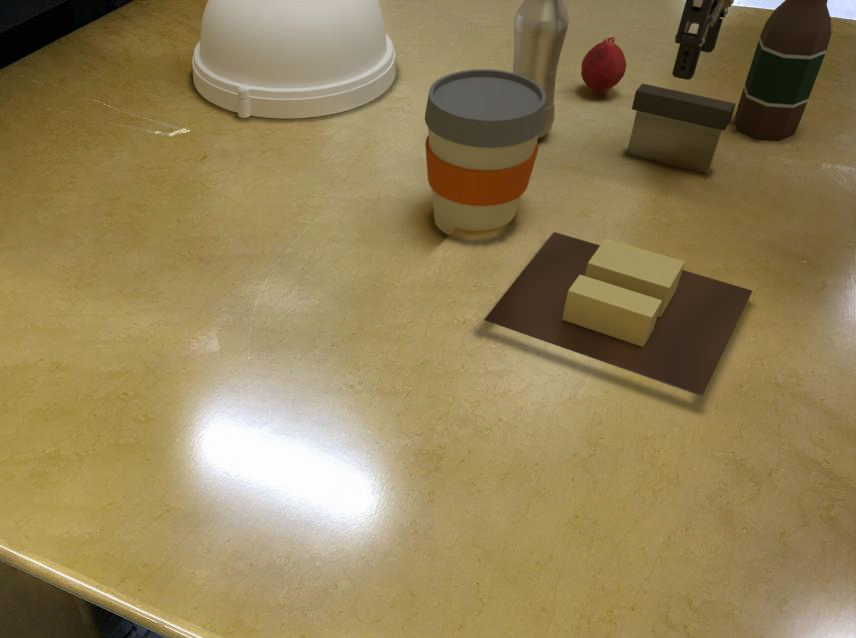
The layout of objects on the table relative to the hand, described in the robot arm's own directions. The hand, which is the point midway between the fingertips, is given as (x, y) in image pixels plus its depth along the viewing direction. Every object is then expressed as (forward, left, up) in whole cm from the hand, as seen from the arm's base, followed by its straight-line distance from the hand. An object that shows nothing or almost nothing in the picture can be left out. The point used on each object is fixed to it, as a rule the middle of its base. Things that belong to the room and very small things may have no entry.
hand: (693, 63), depth 103 cm
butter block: (-5, +30, -11) cm, 33 cm away
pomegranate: (+14, -14, -13) cm, 23 cm away
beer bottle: (-8, -15, -13) cm, 21 cm away
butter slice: (-5, +37, -11) cm, 39 cm away
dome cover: (+55, +1, -13) cm, 56 cm away
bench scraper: (0, 0, -12) cm, 12 cm away
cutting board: (-5, +33, -12) cm, 36 cm away
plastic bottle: (+18, +2, -13) cm, 22 cm away
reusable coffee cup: (+15, +24, -13) cm, 31 cm away
